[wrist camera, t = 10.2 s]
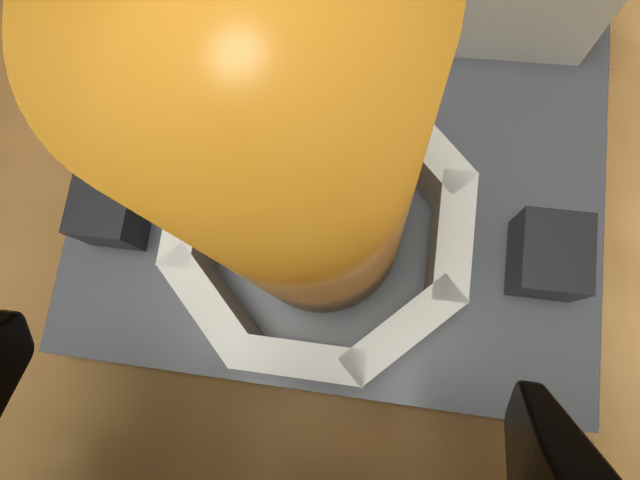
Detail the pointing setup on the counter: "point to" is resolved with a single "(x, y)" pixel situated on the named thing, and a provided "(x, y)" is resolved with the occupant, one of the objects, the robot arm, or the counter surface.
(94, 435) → the counter surface
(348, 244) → the cap
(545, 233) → the ball rail dock
